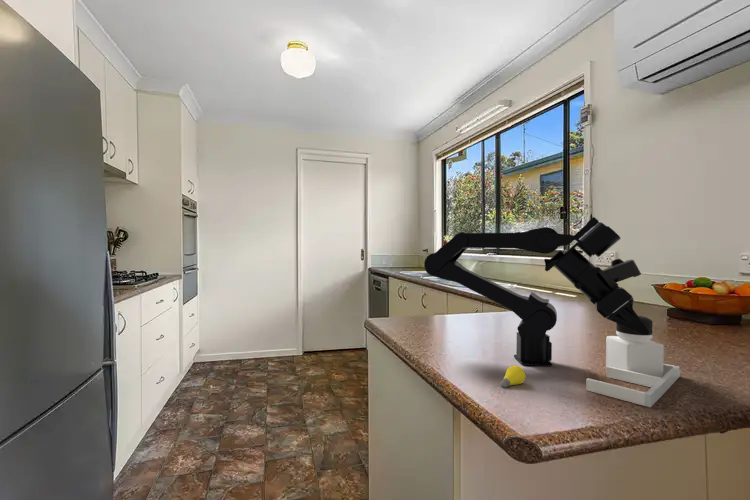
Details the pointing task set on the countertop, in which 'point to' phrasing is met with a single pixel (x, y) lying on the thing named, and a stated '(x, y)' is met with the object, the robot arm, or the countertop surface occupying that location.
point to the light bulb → (513, 376)
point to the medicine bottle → (635, 351)
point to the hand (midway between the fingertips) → (643, 329)
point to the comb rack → (631, 395)
